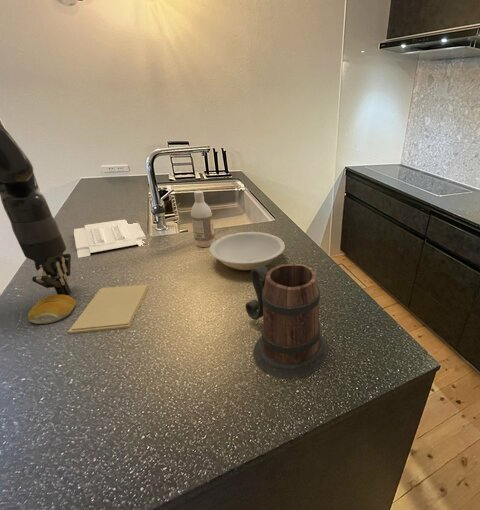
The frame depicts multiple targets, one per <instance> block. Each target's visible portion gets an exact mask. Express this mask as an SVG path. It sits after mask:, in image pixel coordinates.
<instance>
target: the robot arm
mask: <svg viewBox="0 0 480 510" xmlns="http://www.w3.org/2000/svg"><path fill="white" fill-rule="evenodd" d="M0 201H1V204H2V207H3V209H4V211H5V213H6V216H7V218H8V220H9V222H10V225H11V229H12V231H13V234H14V236H15V239H16V241H17V243H18V244H19V247H20V249H21V251H22V253H23V255H24V257H25V258H26V259H27V260H31V261H33V262H34V267H35V268H34V269H35V270H36V271H37V275H35V276H32V278H31V280H32V282H33V283H35V284H37V285H39V286H42V287H44V288H46V289H52V288H54V290H55V292H56V295H57V294H62V295H68V296H70V295H71V294H72V291H71V288H70V286H69V283H68V282H69V277H70V276H71V263H72V262H71V261H72V260H71V259H72V255H71V253H64V252H66V250H67V246H66V243H65V241H64V238H63V236H62V233H61V231H60V228H59V226H58V223H57V221H56V220H55V217H54V215H53V214H52V211H51V209H50V207H49V204H48V201H47V200H46V198H45V196H44V194H43V192H42V191H41V190H40V187H39V184H38V181H37V178H36V176H35V172H34V165H33V163H32V161H31V159H30V158H29V157H28V155H27V154H26V153H25V152H24V151H23V149H22V147H20V145H19V144H18V142H17V141H16V140H15V138H14V137H13V136H12V135H11V134H10V132H9V131H8V129H7V128H6V127H5V124H4V122H3V120H2V118H1V117H0Z"/></svg>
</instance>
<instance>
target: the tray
mask: <svg viewBox="0 0 480 510" xmlns="http://www.w3.org/2000/svg"><path fill="white" fill-rule="evenodd" d="M83 225H84V227H79V228H73V235H74V243H75V249H76V253H77V259H80V258H85V257H90V256H91V253H97V252H98V253H99V252H103V251H109V250H113V249H119V248H125V247H129V246H136V245H138V247H143V246H145V245H143V243H145V242H144V241H142V239H147V237H146V235H145V233H144V231H143V229H142V227H141V224H140V222H139V221H137V223H133V224H128V223H127V219H118V220H112V221H104V222H96V223H89V224H83ZM142 242H143V243H142ZM141 245H142V246H141ZM148 245H149V246H150V243H149V244H148ZM148 245H147V246H148Z"/></svg>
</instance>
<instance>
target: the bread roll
mask: <svg viewBox="0 0 480 510" xmlns="http://www.w3.org/2000/svg"><path fill="white" fill-rule="evenodd" d="M76 306H77V301H76V300H75V298H73V297H72V296H70V295H69V296H68V295H62V294H57V293H56V294H52V295H51V294H50V295H48V296H45V297H44V298H41V300H39V301H37V302H35V304H34V305H33V306H32V308H31V309H30V310H29V311H28V313H27V319H28V321H29V322H30V323H32V324H36V325H40V324H51V323H55V322H58V321H61V320H63V319H64V318H66V317H68V316H69V315H70V314H71V312H72V311H73V310H74V308H75V307H76Z"/></svg>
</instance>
